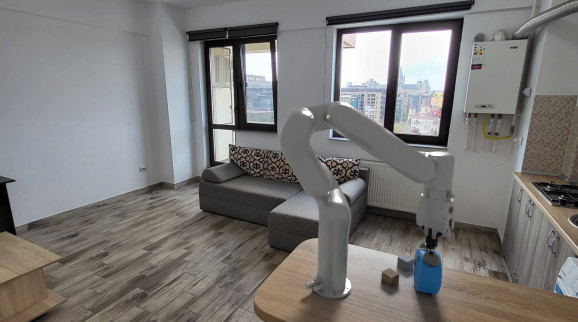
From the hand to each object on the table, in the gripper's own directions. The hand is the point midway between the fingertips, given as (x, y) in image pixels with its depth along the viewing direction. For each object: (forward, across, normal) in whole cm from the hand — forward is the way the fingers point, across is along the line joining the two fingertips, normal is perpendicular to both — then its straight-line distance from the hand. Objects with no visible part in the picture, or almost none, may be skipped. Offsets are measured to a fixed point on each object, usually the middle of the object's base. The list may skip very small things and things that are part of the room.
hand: (431, 247), depth 92 cm
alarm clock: (+15, +1, +1) cm, 15 cm away
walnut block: (+15, +8, +8) cm, 19 cm away
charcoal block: (+15, +12, -4) cm, 20 cm away
